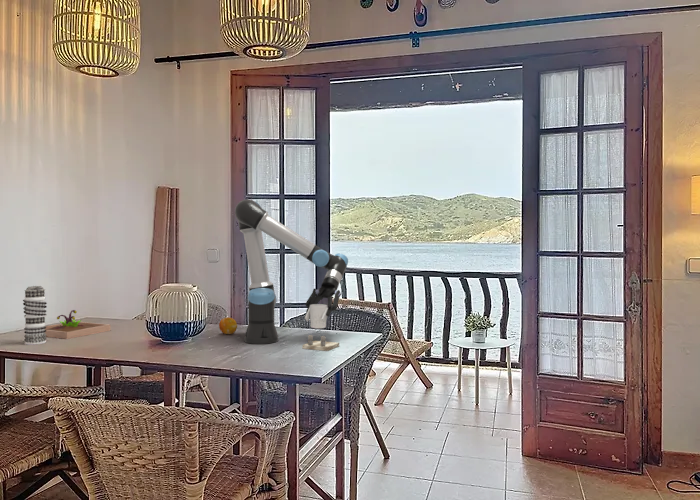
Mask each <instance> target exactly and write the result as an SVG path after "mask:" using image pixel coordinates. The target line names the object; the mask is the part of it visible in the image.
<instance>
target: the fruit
mask: <svg viewBox="0 0 700 500" xmlns="http://www.w3.org/2000/svg"><path fill="white" fill-rule="evenodd" d="M218 324H219V325H218V328H219V330H220V331H221V333H223V334H225V335H233V334H234V333H235V332H236V331H237V329H238V323H237V321H236V320H235V318H232V317H229V316H228V317H227V316H226V317H223V318H221V320H220V321H219V323H218Z"/></svg>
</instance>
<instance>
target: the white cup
mask: <svg viewBox="0 0 700 500" xmlns="http://www.w3.org/2000/svg"><path fill="white" fill-rule="evenodd" d="M326 308H328V304H326V303H325V304H322V303H317V304H311V305H310V319H309V321H310V328H312V329H325V328H326V327H327V320H326V321H325V323H323V321H322V316H323V314H324V312H325V310H326Z"/></svg>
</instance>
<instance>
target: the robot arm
mask: <svg viewBox="0 0 700 500" xmlns="http://www.w3.org/2000/svg"><path fill="white" fill-rule="evenodd" d="M234 215H235V217H236V220H237V222H238V227H239V232H241V233H242V234H243V238H244V245H245V251H246V258H247V263H248V271H249V275H250V285H249V286H248V295H247V300H248V301H247V303H248V304H247V305H248V312H247V313H248V315H247V317H248V324H247V327H246V329H245V330H246V331H245V335H244V343H245V344H251V345H252V344H253V345H266V344H274V343H277V342H279V334H278V331H277V330H278V329H277V327H276V325H275V307H276V305H277V301H278V300H277V296H276V292H275V288H274V287H275V286H274V283H273V282H272V281H270V275H269V270H268V262H267V257H266V250H265V245H264V239H263V238H264V237H263V233H264V234H266V235H268V236H269V237H270V238H272V239H274V240H275V241H277V242H279V243H281V244H282V245H283V246H285V247H287V248H289V249H290V250H292V251H293V252H294V253H296V254H298V255H300V256H301V257H303V258H304V259H306V260H307V261H309V262H311V263H312V264H313V265H315V266H316V267H318V268H319V267H320V268H324V269H325V270H327V271H326V273H325V275H324V278H323V280H322V282H321V285H320V287H319V289H317V288H313V289H312V293H311V294H310V295H309V297H308V299H307V300H306V302H305V303H304V305H305V307H306V310H305V312H306V314H305V316H304V319H305V321H306V322H309V321H310V305H311V304H319V303H320V301H322V300H323V299H327V303H328V304H327V308H326V310H325V312H324V314H323V316H322V321H323V323H325V321H326V322H327V319H328V317H330V315H331V314H332V311H336V310H337V309H338V304H339V300H340V297H341V295H342V293H341V291H340V290H339V289H338V288H339V286H340V283H341V282H342V278H343V276H344V274H345V272H346V269H347V267H348V263H349V259H348V257H347V256H346V255H345V254H343V253H336V254H335V255H334V254H331V253H330V252H328V251H327V250H324V249H323V248H321V247H319V246H318V245H316V244H314V242H311V241H310V240H309V239H306V238H305V237H303V236H302V235H300V234H298V233H297V232H296V231H294V230H292V229H290V228H289V227H288V226H286V225H284V224H282V223H281V222H280V221H278V220H276V219H275V218H273V217H272V216H270V215H269V212H268V211H266V210H265V209H263V208H262V206H261V205H260V204H259V203H258V202H257V201H254V200H253V199H243V200H240V201H239V202H238V203H237V204H236V206H235V208H234ZM333 296H334V298H333Z"/></svg>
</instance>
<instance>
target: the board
mask: <svg viewBox="0 0 700 500" xmlns="http://www.w3.org/2000/svg"><path fill="white" fill-rule="evenodd" d="M313 338H314V335H313V334H310V335H307V343H304V344H302V349H304V350H313V351H314V350H315V351H325V352H329V351H331V350H333V349H337V348H338V347H340V342H337V341H336V342H333V341H326V336H325V335H322V336H320V340H314V339H313Z"/></svg>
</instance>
